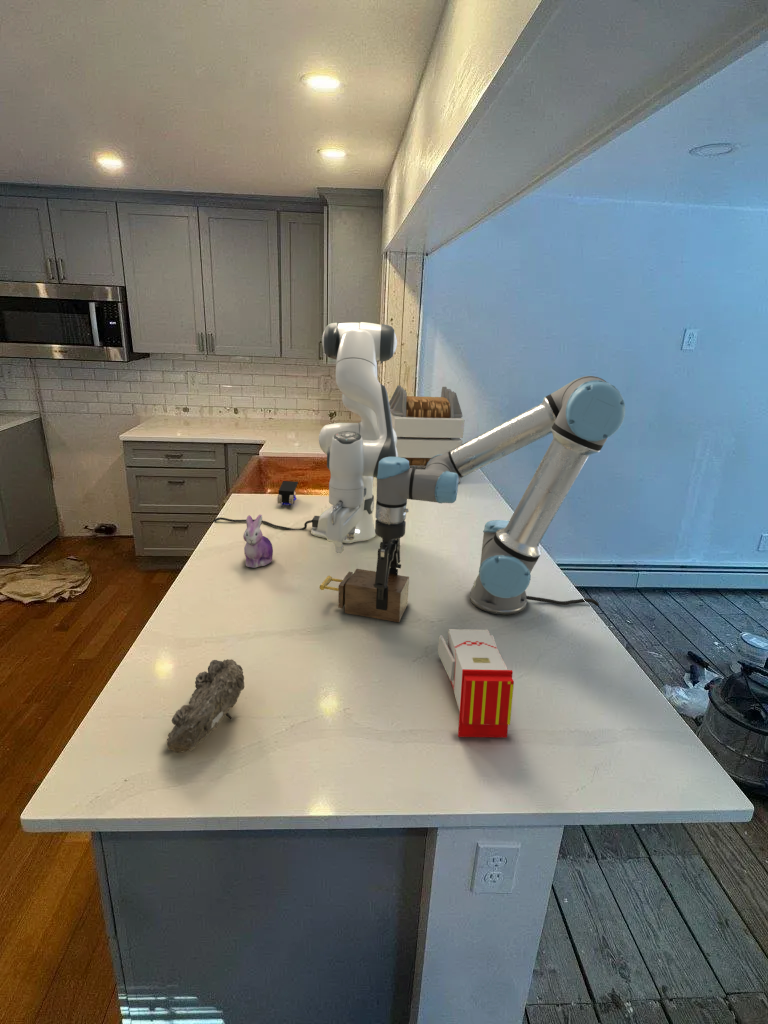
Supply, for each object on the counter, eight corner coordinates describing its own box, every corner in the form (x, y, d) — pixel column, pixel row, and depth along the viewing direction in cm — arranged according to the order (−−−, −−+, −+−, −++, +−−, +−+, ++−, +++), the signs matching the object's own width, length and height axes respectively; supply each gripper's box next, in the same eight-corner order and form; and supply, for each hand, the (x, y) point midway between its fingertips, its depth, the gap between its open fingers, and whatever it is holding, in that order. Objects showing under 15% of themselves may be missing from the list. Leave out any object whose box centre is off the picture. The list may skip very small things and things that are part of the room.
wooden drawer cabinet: (344, 613, 147) (345, 584, 144) (355, 596, 156) (356, 568, 153) (399, 622, 143) (400, 593, 141) (407, 604, 152) (409, 576, 149)
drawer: (317, 604, 149) (317, 581, 147) (328, 589, 156) (328, 568, 154) (387, 616, 144) (389, 593, 142) (395, 601, 152) (397, 579, 150)
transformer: (382, 463, 289) (386, 382, 275) (445, 464, 293) (451, 384, 279) (390, 482, 257) (394, 392, 243) (460, 483, 261) (468, 394, 247)
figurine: (247, 571, 167) (245, 523, 162) (239, 557, 175) (236, 512, 170) (278, 566, 171) (277, 519, 166) (269, 553, 179) (267, 508, 174)
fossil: (192, 660, 117) (244, 628, 112) (224, 691, 120) (276, 661, 115) (142, 746, 98) (202, 712, 93) (182, 779, 101) (242, 748, 96)
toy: (488, 613, 130) (523, 677, 101) (484, 667, 133) (517, 744, 104) (435, 612, 130) (455, 676, 101) (432, 666, 133) (451, 743, 103)
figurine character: (294, 513, 219) (298, 496, 232) (293, 495, 215) (298, 479, 229) (276, 512, 219) (282, 496, 232) (276, 494, 215) (281, 479, 229)
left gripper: (345, 509, 135) (344, 562, 140) (368, 486, 154) (367, 534, 159) (320, 506, 137) (319, 559, 141) (346, 484, 155) (345, 531, 160)
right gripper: (394, 537, 129) (389, 623, 137) (414, 507, 150) (409, 583, 157) (363, 533, 131) (360, 618, 139) (387, 503, 151) (383, 579, 159)
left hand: (345, 545), depth 150 cm, fingers open, 8 cm apart
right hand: (386, 599), depth 148 cm, fingers closed on wooden drawer cabinet, 10 cm apart
